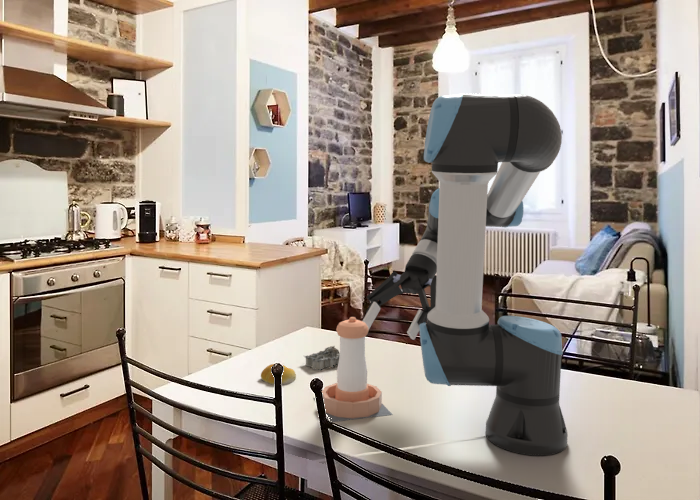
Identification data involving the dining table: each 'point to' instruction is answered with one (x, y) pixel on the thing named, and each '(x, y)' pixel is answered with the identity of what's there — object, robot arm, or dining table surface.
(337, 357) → the egg carton
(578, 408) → the dining table surface
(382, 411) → the mat
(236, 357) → the dining table surface
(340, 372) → the pepper shaker
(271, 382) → the bread roll
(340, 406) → the dish
